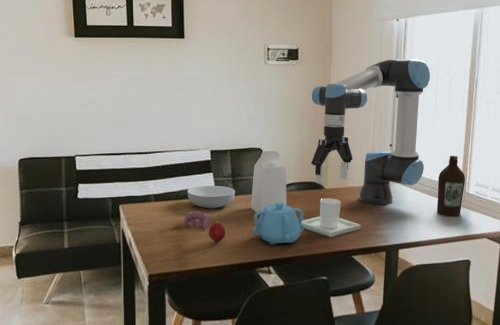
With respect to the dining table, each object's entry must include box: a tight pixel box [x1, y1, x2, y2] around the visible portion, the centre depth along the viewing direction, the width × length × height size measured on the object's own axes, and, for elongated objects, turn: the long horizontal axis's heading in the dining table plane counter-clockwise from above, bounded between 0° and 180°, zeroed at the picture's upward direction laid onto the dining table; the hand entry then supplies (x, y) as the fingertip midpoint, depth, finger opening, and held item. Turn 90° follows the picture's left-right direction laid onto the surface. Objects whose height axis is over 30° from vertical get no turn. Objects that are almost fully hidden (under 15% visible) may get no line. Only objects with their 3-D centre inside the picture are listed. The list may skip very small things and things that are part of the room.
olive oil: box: [436, 155, 466, 217], centre depth 232 cm, size 11×11×25 cm
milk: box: [250, 149, 287, 216], centre depth 230 cm, size 12×12×26 cm
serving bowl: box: [186, 185, 236, 209], centre depth 238 cm, size 21×21×7 cm
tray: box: [300, 216, 362, 238], centre depth 210 cm, size 17×17×2 cm
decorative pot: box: [252, 202, 305, 245], centre depth 194 cm, size 16×16×14 cm
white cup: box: [319, 198, 342, 228], centre depth 210 cm, size 8×8×10 cm
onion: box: [208, 220, 226, 244], centre depth 190 cm, size 6×6×8 cm
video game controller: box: [182, 210, 211, 231], centre depth 208 cm, size 10×5×7 cm, turn 72°
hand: (331, 181), depth 207 cm, fingers open, 13 cm apart
